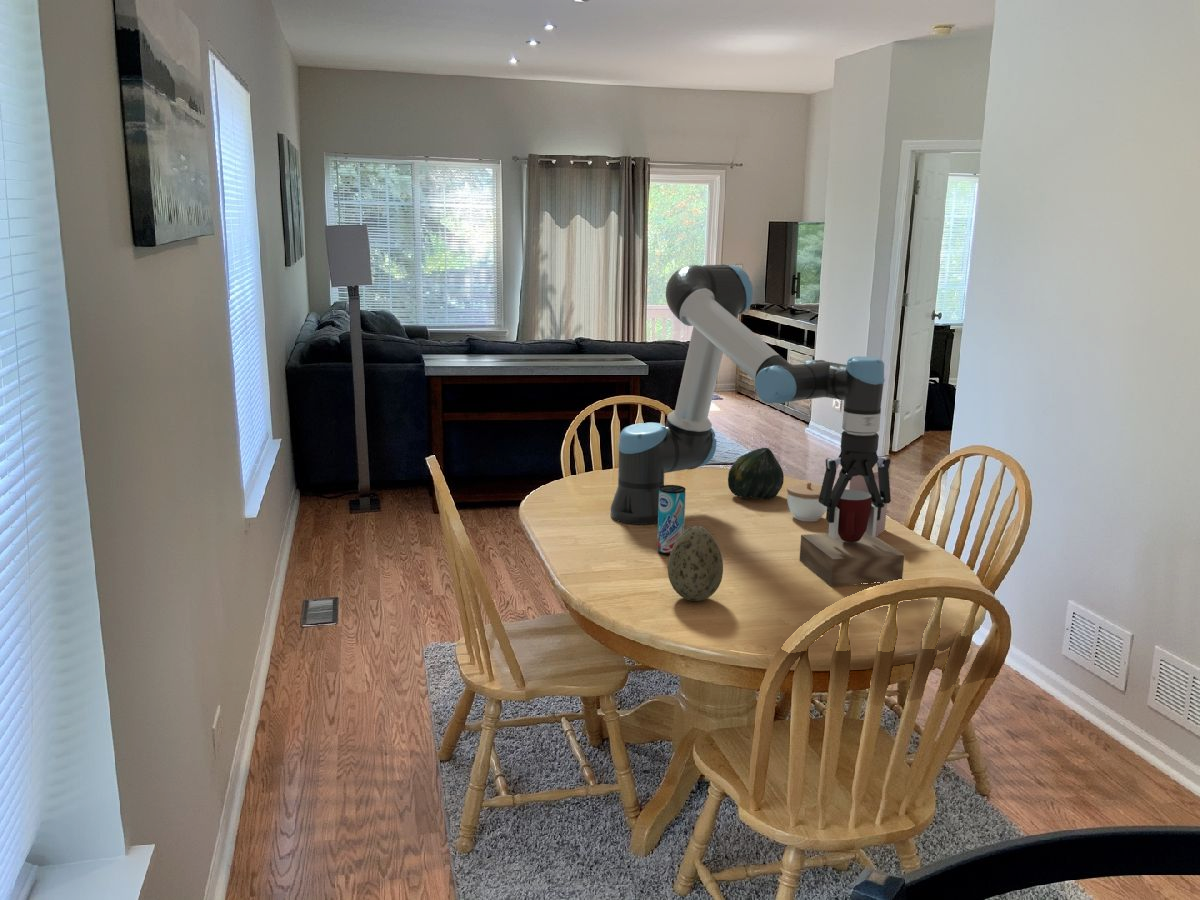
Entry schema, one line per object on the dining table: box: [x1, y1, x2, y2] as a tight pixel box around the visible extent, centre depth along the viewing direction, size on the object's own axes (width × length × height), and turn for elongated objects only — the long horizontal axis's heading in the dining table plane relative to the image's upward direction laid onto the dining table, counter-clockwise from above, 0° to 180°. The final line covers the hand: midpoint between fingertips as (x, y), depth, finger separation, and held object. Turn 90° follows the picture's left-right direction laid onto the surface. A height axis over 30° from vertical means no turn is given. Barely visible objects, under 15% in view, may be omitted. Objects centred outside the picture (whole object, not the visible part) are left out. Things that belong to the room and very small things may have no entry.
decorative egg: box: [667, 525, 724, 602], centre depth 182 cm, size 11×11×15 cm
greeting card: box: [848, 470, 891, 537], centre depth 224 cm, size 11×7×15 cm, turn 111°
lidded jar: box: [786, 481, 827, 523], centre depth 237 cm, size 11×11×9 cm
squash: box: [727, 447, 785, 500], centre depth 256 cm, size 14×15×15 cm
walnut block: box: [798, 532, 905, 588], centre depth 200 cm, size 16×16×6 cm
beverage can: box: [656, 484, 686, 556], centre depth 209 cm, size 6×6×15 cm
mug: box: [836, 489, 872, 542], centre depth 198 cm, size 10×8×10 cm
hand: (851, 535), depth 199 cm, fingers closed on mug, 8 cm apart
